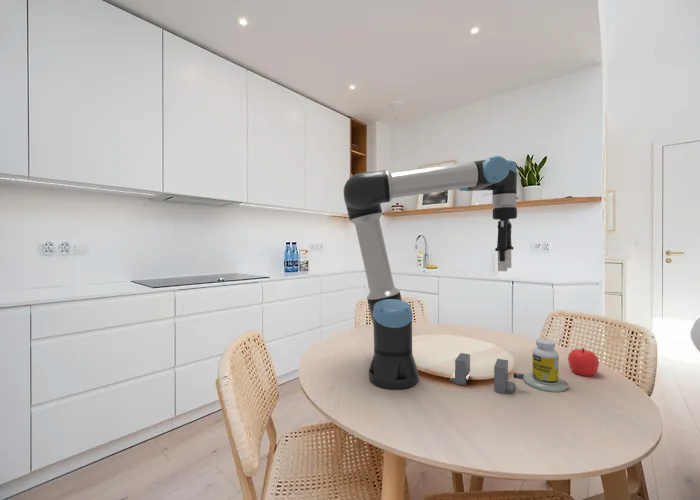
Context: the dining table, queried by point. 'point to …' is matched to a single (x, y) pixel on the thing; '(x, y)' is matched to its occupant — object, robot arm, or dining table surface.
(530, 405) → the dining table surface
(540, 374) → the pill bottle
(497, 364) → the vise
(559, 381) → the pale green round disc
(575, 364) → the apple
